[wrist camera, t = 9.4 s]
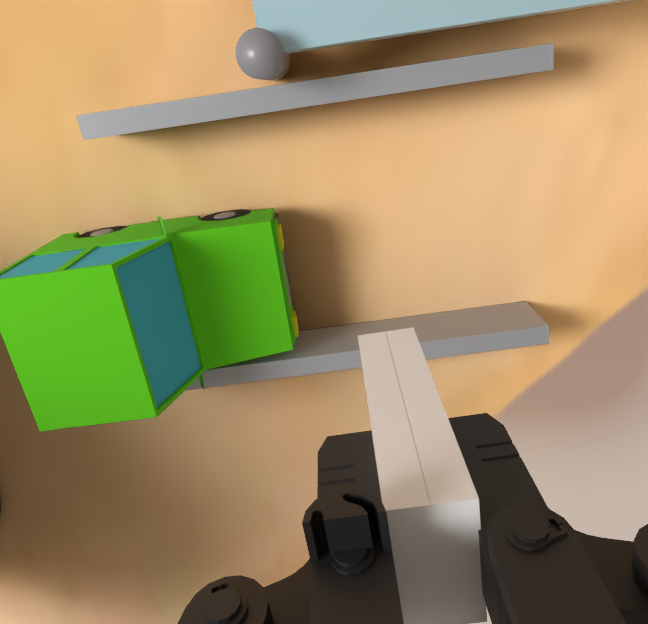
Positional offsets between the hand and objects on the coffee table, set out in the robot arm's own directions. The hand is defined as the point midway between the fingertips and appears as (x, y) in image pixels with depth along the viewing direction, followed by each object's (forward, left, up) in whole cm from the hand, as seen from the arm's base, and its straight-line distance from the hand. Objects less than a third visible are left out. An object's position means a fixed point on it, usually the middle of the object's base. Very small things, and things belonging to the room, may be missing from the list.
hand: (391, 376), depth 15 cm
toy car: (-11, -3, -21) cm, 24 cm away
